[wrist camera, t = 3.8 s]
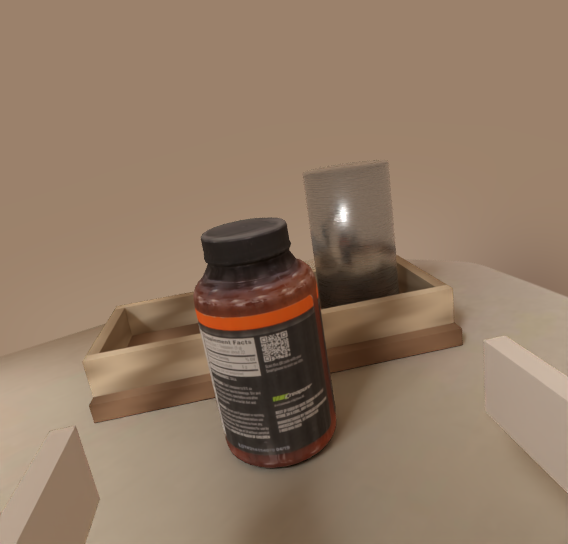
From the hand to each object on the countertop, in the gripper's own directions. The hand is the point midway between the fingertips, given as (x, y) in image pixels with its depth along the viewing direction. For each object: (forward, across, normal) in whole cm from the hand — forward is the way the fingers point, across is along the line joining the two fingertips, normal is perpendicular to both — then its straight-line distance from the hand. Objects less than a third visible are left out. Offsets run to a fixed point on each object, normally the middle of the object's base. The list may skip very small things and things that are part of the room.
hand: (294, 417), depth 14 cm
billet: (+19, +8, -5) cm, 21 cm away
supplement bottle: (+8, 0, -7) cm, 10 cm away
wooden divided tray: (+19, +1, -6) cm, 20 cm away
